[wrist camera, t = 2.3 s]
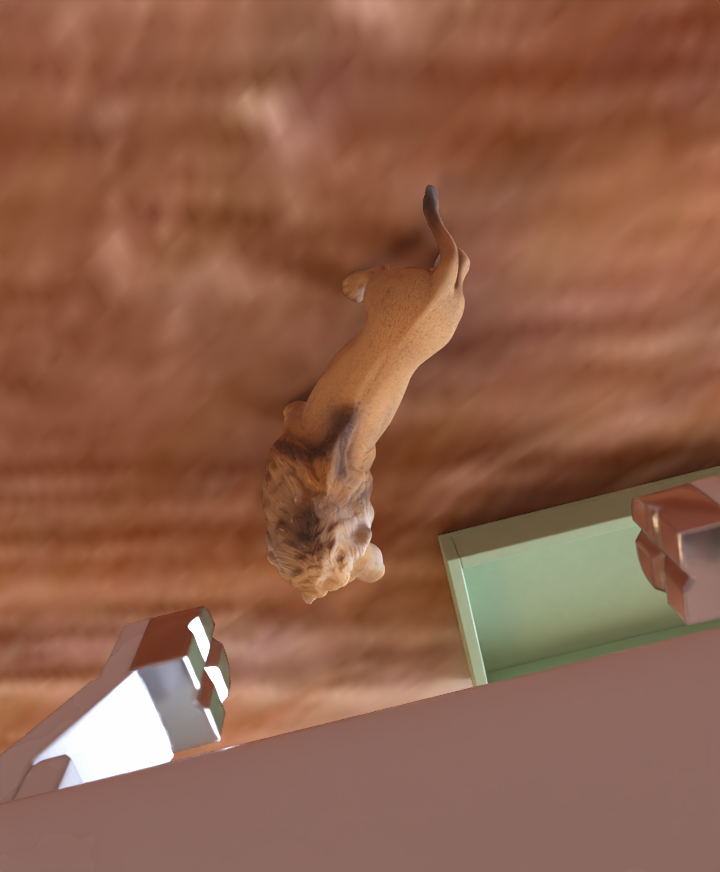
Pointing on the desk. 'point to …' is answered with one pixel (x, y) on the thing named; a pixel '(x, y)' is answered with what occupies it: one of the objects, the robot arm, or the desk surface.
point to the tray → (558, 586)
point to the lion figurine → (356, 420)
